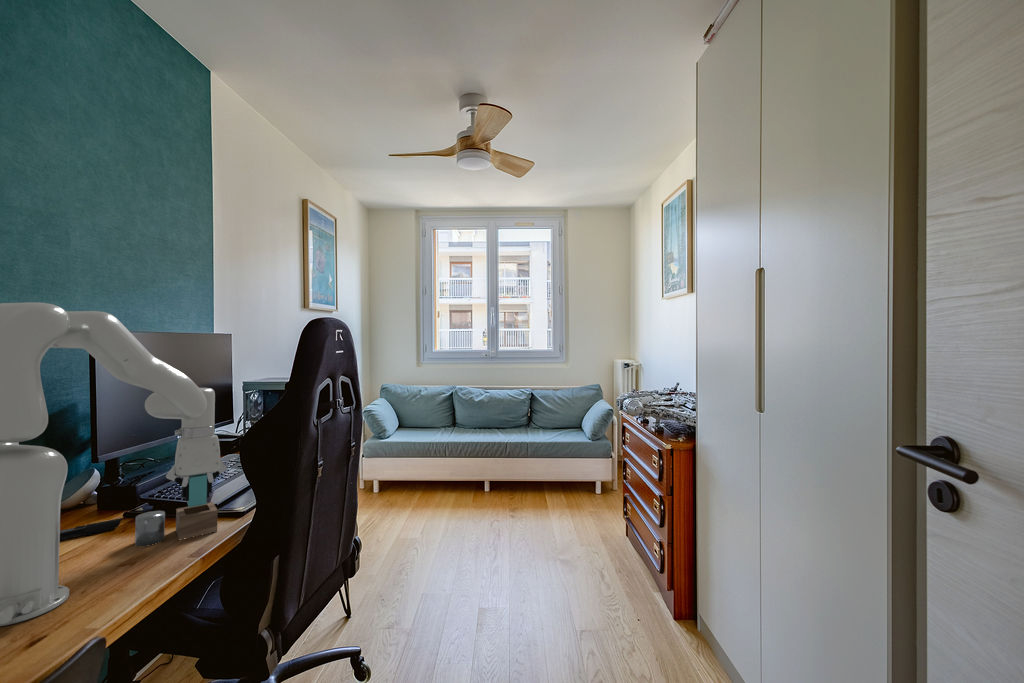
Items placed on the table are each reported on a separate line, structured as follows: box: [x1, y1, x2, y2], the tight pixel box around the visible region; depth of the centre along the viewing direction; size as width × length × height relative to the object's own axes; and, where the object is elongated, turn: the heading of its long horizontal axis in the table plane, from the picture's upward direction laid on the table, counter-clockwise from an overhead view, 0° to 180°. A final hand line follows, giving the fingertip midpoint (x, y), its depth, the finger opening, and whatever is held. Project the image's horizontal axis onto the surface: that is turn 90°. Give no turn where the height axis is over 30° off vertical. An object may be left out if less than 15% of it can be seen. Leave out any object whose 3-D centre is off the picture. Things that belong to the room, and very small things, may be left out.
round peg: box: [134, 510, 166, 547], centre depth 116 cm, size 6×6×7 cm
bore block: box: [175, 501, 219, 540], centre depth 122 cm, size 8×8×6 cm
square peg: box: [186, 473, 208, 507], centre depth 122 cm, size 4×4×8 cm
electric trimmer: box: [60, 517, 123, 541], centre depth 119 cm, size 4×16×3 cm, turn 133°
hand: (197, 497), depth 122 cm, fingers closed on square peg, 4 cm apart
